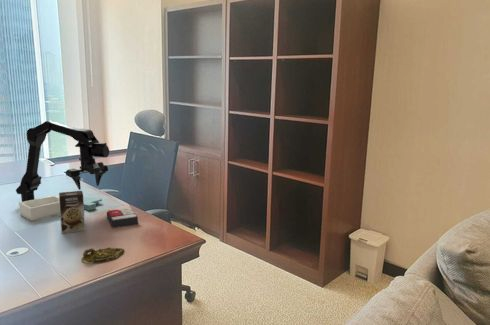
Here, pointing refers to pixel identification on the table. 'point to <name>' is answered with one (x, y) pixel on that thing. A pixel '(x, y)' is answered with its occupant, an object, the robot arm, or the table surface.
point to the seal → (101, 255)
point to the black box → (122, 217)
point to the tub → (40, 208)
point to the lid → (90, 202)
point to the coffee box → (72, 211)
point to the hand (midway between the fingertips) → (88, 187)
